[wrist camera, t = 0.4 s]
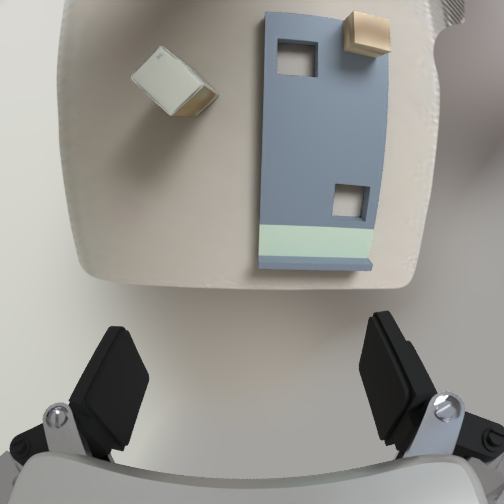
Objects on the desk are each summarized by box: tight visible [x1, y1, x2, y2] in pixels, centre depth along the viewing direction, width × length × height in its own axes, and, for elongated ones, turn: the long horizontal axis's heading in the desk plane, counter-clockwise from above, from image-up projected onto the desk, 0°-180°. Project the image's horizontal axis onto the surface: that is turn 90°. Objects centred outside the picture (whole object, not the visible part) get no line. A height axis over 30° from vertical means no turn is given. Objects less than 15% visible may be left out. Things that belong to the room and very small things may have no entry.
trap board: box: [258, 12, 388, 271], centre depth 32 cm, size 34×16×4 cm, turn 179°
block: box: [343, 11, 391, 58], centre depth 24 cm, size 4×4×4 cm
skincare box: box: [131, 46, 219, 117], centre depth 26 cm, size 6×4×12 cm
